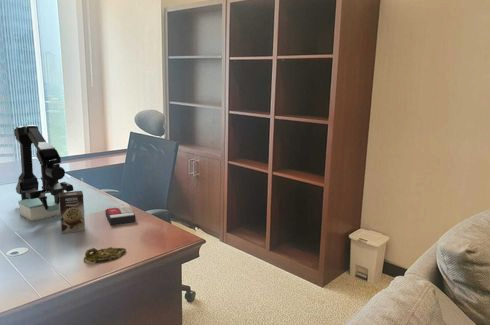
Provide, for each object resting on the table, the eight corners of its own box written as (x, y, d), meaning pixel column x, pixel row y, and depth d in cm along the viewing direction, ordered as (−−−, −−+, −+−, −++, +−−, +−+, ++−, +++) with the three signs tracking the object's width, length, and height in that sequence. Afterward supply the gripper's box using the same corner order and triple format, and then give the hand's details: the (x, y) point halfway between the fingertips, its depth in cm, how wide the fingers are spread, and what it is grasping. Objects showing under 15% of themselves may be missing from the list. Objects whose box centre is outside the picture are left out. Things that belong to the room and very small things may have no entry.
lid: (18, 206, 173) (18, 200, 173) (55, 198, 186) (54, 193, 185) (35, 215, 162) (34, 209, 162) (72, 206, 175) (71, 201, 174)
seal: (120, 249, 145) (80, 260, 135) (119, 238, 144) (78, 247, 135) (130, 255, 138) (88, 267, 128) (129, 243, 137) (87, 254, 128)
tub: (20, 214, 174) (19, 202, 173) (55, 206, 186) (54, 195, 185) (31, 221, 167) (30, 208, 165) (67, 212, 179) (66, 200, 178)
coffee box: (61, 234, 154) (58, 196, 151) (61, 228, 160) (58, 192, 156) (85, 230, 159) (83, 194, 155) (84, 225, 164) (82, 189, 161)
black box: (129, 205, 182) (135, 213, 169) (129, 213, 182) (135, 222, 169) (105, 208, 177) (109, 217, 164) (105, 216, 177) (110, 226, 164)
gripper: (34, 182, 155) (37, 218, 158) (78, 175, 169) (80, 208, 172) (23, 177, 162) (26, 212, 165) (66, 170, 176) (68, 202, 179)
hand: (51, 208), depth 170 cm, fingers closed on lid, 4 cm apart
